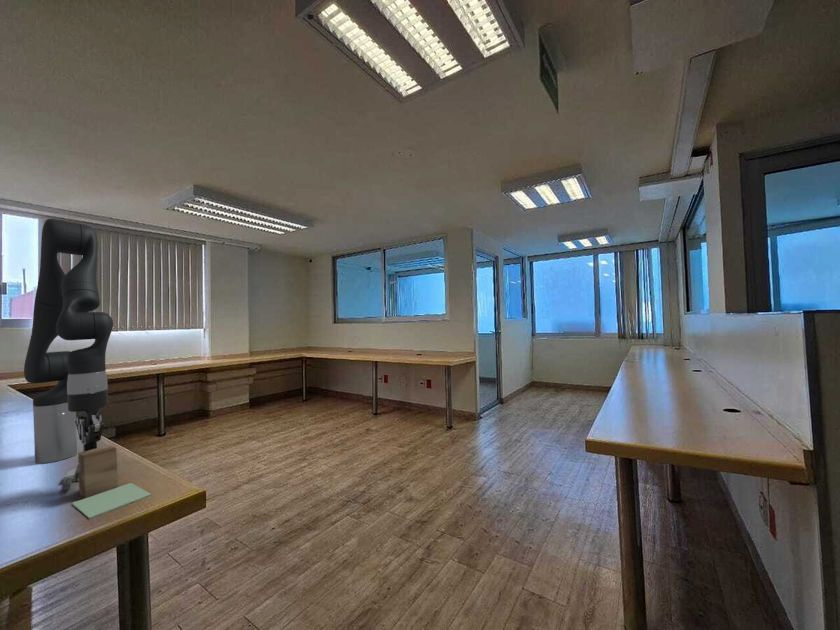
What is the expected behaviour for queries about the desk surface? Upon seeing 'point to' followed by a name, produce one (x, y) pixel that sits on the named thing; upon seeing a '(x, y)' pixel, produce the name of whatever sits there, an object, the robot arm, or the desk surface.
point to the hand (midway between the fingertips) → (90, 457)
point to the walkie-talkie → (71, 478)
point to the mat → (110, 500)
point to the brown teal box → (97, 471)
